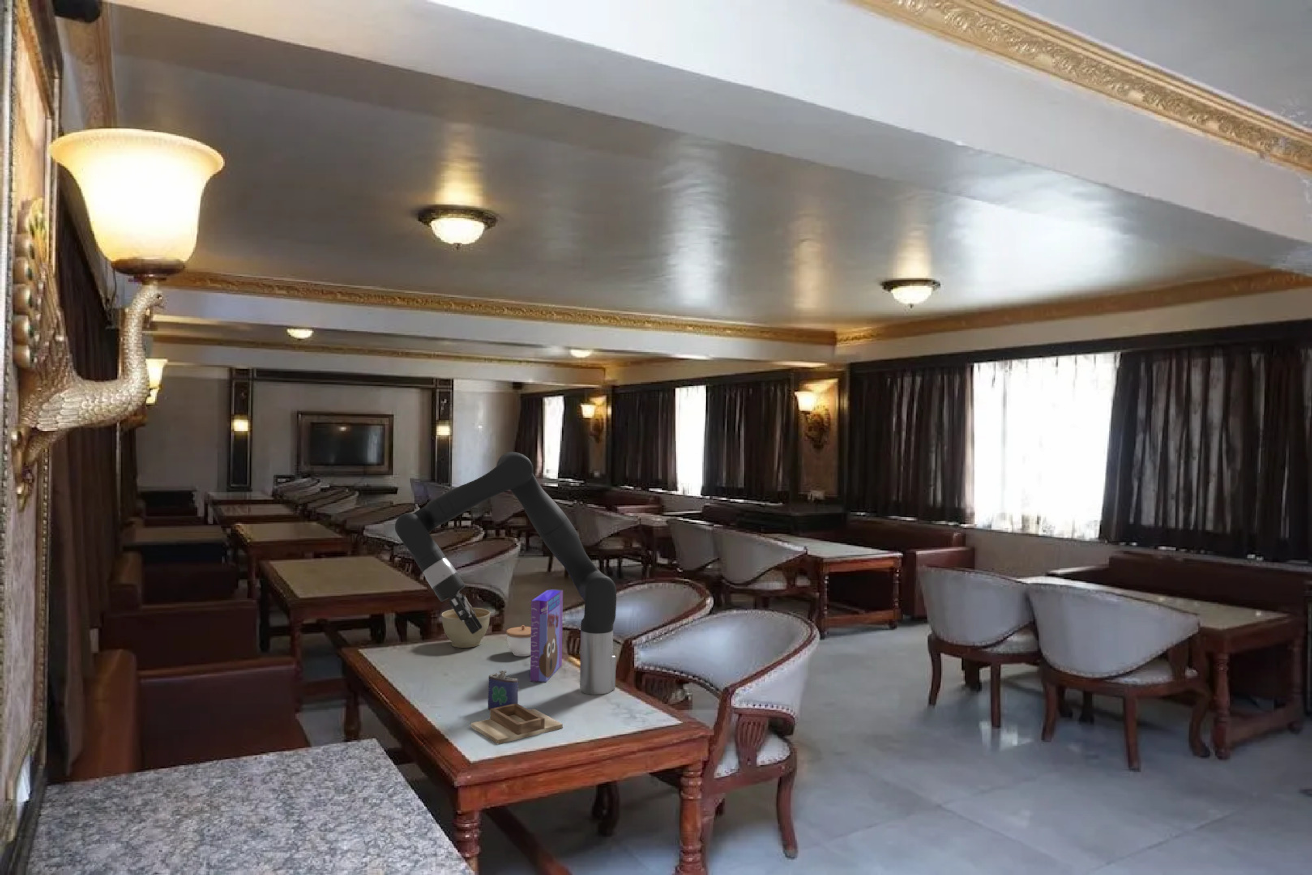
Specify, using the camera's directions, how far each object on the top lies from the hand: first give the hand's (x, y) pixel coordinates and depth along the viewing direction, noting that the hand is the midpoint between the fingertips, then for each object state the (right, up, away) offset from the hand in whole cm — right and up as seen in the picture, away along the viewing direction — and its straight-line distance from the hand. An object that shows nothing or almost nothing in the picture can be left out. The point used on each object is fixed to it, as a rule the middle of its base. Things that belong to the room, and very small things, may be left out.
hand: (477, 630), depth 225 cm
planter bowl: (-18, -20, +66) cm, 71 cm away
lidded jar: (+3, -20, +56) cm, 60 cm away
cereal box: (+14, -21, +35) cm, 43 cm away
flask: (+6, -22, +1) cm, 23 cm away
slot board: (+12, -22, -11) cm, 27 cm away
